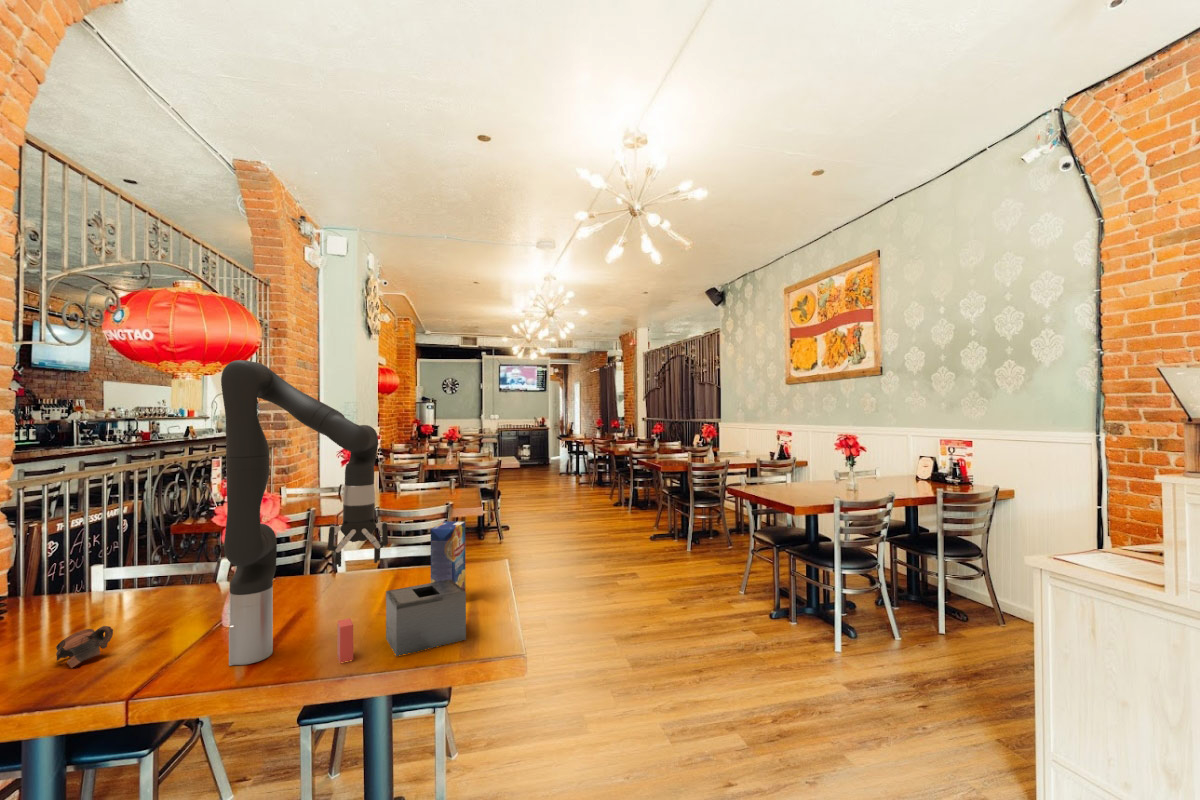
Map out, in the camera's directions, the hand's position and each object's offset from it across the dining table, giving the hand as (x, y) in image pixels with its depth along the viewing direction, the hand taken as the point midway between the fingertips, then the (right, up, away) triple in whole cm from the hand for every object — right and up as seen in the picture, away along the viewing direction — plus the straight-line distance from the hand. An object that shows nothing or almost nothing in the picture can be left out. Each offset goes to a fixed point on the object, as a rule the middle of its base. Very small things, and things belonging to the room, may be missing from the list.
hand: (357, 564), depth 139 cm
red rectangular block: (-1, -23, -4) cm, 23 cm away
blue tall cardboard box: (+13, -23, +39) cm, 47 cm away
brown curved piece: (-64, -23, -4) cm, 68 cm away
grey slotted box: (+16, -23, +7) cm, 28 cm away
